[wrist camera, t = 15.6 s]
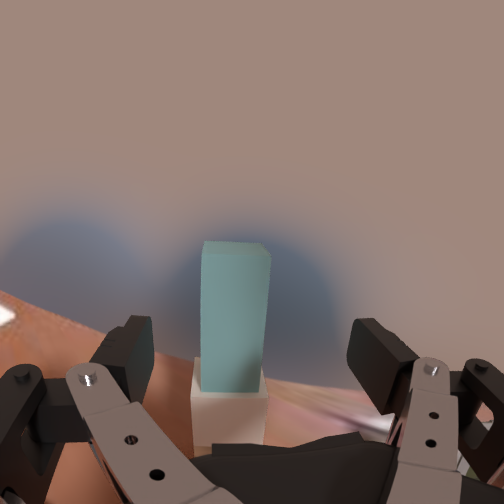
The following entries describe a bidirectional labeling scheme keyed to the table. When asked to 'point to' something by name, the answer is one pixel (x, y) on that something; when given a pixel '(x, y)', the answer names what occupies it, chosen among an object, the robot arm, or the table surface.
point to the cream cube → (227, 413)
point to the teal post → (233, 315)
